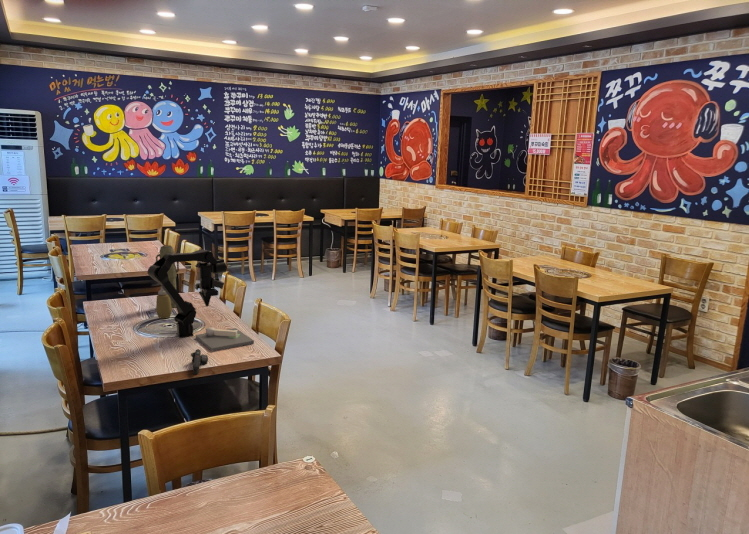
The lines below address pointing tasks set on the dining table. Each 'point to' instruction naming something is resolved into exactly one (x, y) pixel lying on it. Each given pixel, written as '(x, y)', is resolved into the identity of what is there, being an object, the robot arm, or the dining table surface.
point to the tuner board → (224, 340)
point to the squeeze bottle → (163, 304)
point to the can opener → (198, 360)
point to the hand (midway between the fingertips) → (207, 306)
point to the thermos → (172, 270)
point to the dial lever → (220, 332)
